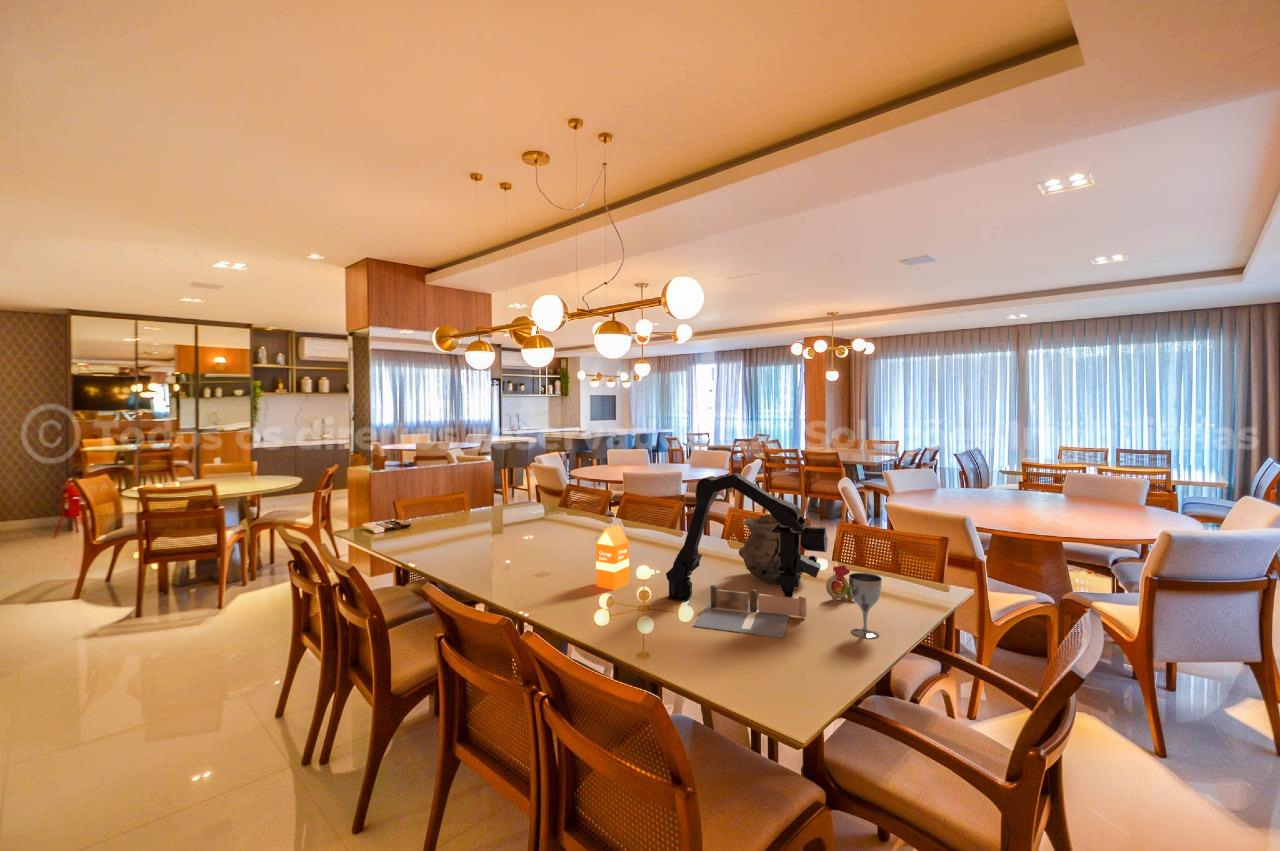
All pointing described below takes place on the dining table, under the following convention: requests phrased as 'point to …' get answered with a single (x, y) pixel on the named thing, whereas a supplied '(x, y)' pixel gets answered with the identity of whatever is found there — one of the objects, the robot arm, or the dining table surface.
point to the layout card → (743, 621)
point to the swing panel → (782, 605)
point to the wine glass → (865, 599)
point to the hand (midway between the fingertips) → (789, 602)
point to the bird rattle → (835, 587)
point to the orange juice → (612, 558)
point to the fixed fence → (733, 599)
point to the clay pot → (762, 548)
